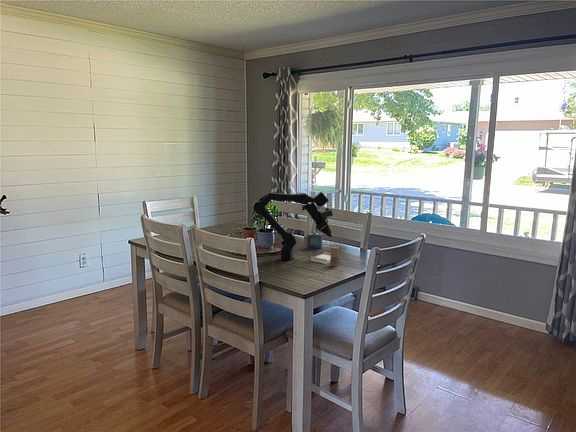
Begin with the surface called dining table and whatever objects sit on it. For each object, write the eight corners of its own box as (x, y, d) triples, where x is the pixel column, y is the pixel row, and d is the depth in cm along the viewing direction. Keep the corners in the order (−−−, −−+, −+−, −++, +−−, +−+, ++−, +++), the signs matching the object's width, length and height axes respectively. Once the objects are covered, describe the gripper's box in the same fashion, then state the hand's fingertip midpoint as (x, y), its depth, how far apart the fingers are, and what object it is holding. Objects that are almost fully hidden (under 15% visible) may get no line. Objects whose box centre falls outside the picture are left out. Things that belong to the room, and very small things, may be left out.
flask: (322, 247, 266) (322, 230, 264) (322, 249, 263) (322, 232, 261) (307, 247, 267) (307, 230, 265) (307, 249, 264) (307, 231, 262)
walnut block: (337, 266, 228) (337, 248, 226) (330, 265, 230) (330, 247, 228) (340, 264, 231) (340, 246, 229) (333, 263, 233) (333, 245, 231)
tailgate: (325, 264, 232) (325, 259, 232) (309, 260, 239) (309, 256, 238) (338, 258, 242) (338, 254, 242) (322, 255, 249) (322, 251, 248)
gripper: (325, 206, 227) (343, 229, 228) (325, 201, 246) (342, 223, 247) (309, 218, 229) (326, 241, 230) (310, 213, 247) (326, 234, 248)
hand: (331, 234), depth 239 cm, fingers open, 9 cm apart
